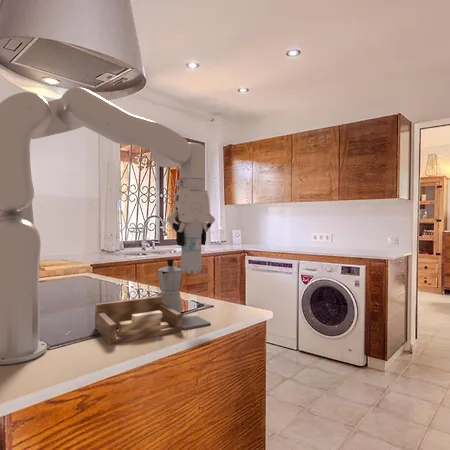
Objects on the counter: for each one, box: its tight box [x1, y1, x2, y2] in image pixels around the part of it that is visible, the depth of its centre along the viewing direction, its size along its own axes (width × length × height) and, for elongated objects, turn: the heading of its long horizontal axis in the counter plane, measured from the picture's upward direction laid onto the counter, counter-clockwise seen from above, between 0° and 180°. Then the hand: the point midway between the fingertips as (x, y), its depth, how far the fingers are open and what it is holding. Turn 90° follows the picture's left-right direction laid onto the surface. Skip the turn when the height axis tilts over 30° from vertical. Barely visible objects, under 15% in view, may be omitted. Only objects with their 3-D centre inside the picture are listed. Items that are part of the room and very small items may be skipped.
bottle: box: [180, 218, 203, 275], centre depth 107 cm, size 7×7×20 cm
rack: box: [94, 295, 183, 346], centre depth 101 cm, size 20×15×7 cm
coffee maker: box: [157, 258, 184, 313], centre depth 120 cm, size 15×9×18 cm, turn 167°
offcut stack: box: [116, 311, 169, 337], centre depth 97 cm, size 14×2×6 cm, turn 123°
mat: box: [182, 315, 212, 331], centre depth 107 cm, size 9×9×1 cm
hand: (191, 244), depth 107 cm, fingers closed on bottle, 6 cm apart
